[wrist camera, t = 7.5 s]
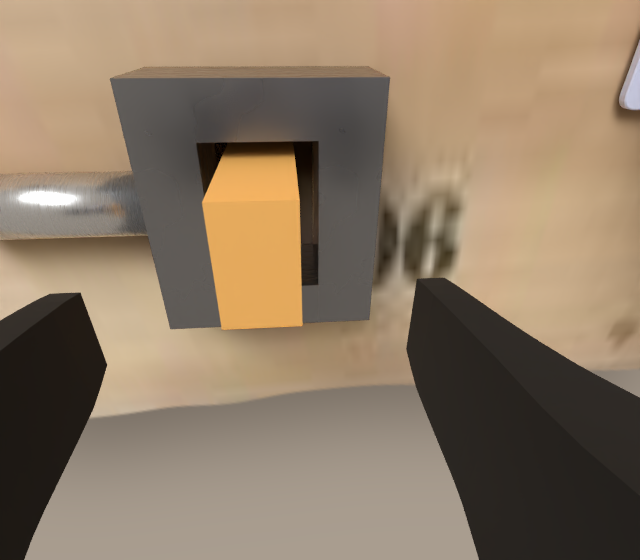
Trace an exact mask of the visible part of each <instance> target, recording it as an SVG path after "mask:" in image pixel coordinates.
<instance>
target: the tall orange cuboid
mask: <svg viewBox="0 0 640 560" xmlns="http://www.w3.org/2000/svg"><path fill="white" fill-rule="evenodd" d="M202 206H203V212H204V219H205V225H206V231H207V238H208V244H209V251H210V257H211V263H212V270H213V276H214V283H215V289H216V295H217V302H218V308H219V314H220V321H221V327H222V330H229V329H250V328H271V327H292V326H302V283H301V239H300V199H299V190H298V181H297V172H296V163H295V154H294V144H293V141H284V142H228V144H227V146H226V148H225V151H224V153H223V155H222V158H221V160H220V162H219V164H218V167H217V169H216V171H215V174H214V176H213V178H212V181H211V183H210V185H209V188H208V190H207V192H206V194H205V197H204V199H203V201H202Z"/></svg>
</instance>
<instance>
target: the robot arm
mask: <svg viewBox="0 0 640 560" xmlns="http://www.w3.org/2000/svg"><path fill="white" fill-rule="evenodd" d="M619 104H620V106H621V107H622V108H625V109H630V110H640V41H639V44H638V46H637V49H636V52H635V55H634V57H633V60H632V63H631V66H630V69H629V71H628V74H627V77H626V80H625V82H624V85H623V88H622V91H621V93H620V97H619ZM406 349H407V354H408V358H409V362H410V366H411V370H412V373H413V377H414V381H415V384H416V388H417V390H418V393H419V396H420V398H421V401H422V403H423V406H424V408H425V411H426V413H427V416H428V418H429V421H430V423H431V426H432V428H433V431H434V433H435V436H436V438H437V440H438V443H439V445H440V448H441V450H442V453H443V455H444V457H445V460H446V462H447V465H448V467H449V470H450V472H451V474H452V477H453V480H454V482H455V485H456V488H457V490H458V493H459V496H460V499H461V501H462V504H463V507H464V511H465V514H466V517H467V520H468V524H469V527H470V531H471V534H472V537H473V540H474V544H475V547H476V551H477V554H478V557H479V560H640V398H639V397H637V396H635V395H633V394H632V393H630V392H628V391H626V390H624V389H622V388H620V387H618V386H616V385H614V384H612V383H611V382H609V381H607V380H605V379H603V378H601V377H599V376H597V375H595V374H593V373H592V372H590V371H588V370H586V369H585V368H583V367H581V366H579V365H577V364H576V363H574V362H572V361H571V360H569V359H567V358H566V357H564V356H562V355H561V354H559V353H557V352H556V351H554V350H552V349H551V348H549V347H548V346H546V345H544V344H543V343H541V342H539V341H538V340H536V339H535V338H533V337H532V336H530V335H528V334H527V333H525V332H524V331H522V330H521V329H519V328H518V327H516V326H515V325H513V324H512V323H510V322H509V321H507V320H506V319H504V318H503V317H501V316H500V315H499V314H497V313H496V312H494V311H493V310H491V309H490V308H488V307H487V306H486V305H484V304H483V303H481V302H480V301H478V300H477V299H476V298H474V297H473V296H471V295H470V294H468V293H467V292H465V291H464V290H463V289H461V288H460V287H458V286H457V285H455V284H454V283H452V282H450V281H449V280H447V279H445V278H425V279H417V282H416V289H415V296H414V302H413V309H412V315H411V322H410V329H409V335H408V342H407V348H406ZM106 367H107V363H106V361H105V358H104V355H103V352H102V350H101V347H100V344H99V342H98V339H97V336H96V334H95V331H94V328H93V325H92V323H91V320H90V317H89V315H88V312H87V309H86V307H85V304H84V301H83V298H82V296H81V293H59V294H49V295H47V296H45V297H42V298H40V299H38V300H36V301H34V302H32V303H31V304H29V305H27V306H25V307H23V308H21V309H20V310H18V311H16V312H14V313H13V314H11V315H9V316H7V317H6V318H4V319H2V320H1V321H0V560H24V559H25V555H26V553H27V550H28V548H29V545H30V542H31V540H32V537H33V535H34V532H35V530H36V528H37V526H38V524H39V521H40V519H41V517H42V514H43V512H44V510H45V508H46V506H47V504H48V502H49V500H50V498H51V496H52V494H53V492H54V490H55V487H56V485H57V483H58V481H59V479H60V477H61V475H62V473H63V471H64V469H65V467H66V465H67V463H68V461H69V459H70V456H71V455H72V453H73V451H74V448H75V446H76V444H77V442H78V440H79V438H80V436H81V434H82V432H83V430H84V428H85V425H86V423H87V421H88V419H89V417H90V415H91V412H92V410H93V408H94V405H95V402H96V399H97V396H98V393H99V391H100V387H101V384H102V381H103V377H104V374H105V371H106Z"/></svg>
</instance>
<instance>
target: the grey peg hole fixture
mask: <svg viewBox="0 0 640 560" xmlns="http://www.w3.org/2000/svg"><path fill="white" fill-rule="evenodd" d="M110 81H111V85H112V89H113V93H114V97H115V102H116V106H117V110H118V114H119V118H120V122H121V126H122V131H123V135H124V139H125V143H126V147H127V151H128V155H129V160H130V164H131V168H132V171H120V172H69V173H18V174H0V240H17V239H49V238H82V237H115V236H148V238H149V243H150V247H151V251H152V255H153V259H154V263H155V267H156V272H157V276H158V280H159V284H160V288H161V292H162V296H163V301H164V305H165V309H166V313H167V317H168V321H169V325H170V329H185V328H206V327H221V321H220V314H219V308H218V302H217V295H216V289H215V283H214V276H213V270H212V263H211V257H210V251H209V244H208V238H207V231H206V225H205V219H204V212H203V206H202V201H203V199H204V197H205V194H206V192H207V190H208V188H209V185H210V183H211V181H212V178H213V176H214V174H215V171H216V169H217V167H218V163H217V155H216V148H215V143H217V142H284V141H312V244H301V283H302V323H314V322H335V321H356V320H369V316H370V304H371V292H372V281H373V269H374V257H375V246H376V234H377V222H378V211H379V199H380V187H381V176H382V164H383V153H384V141H385V129H386V118H387V106H388V94H389V83H390V77H388V76H386V75H384V74H382V73H380V72H378V71H376V70H374V69H372V68H370V67H143V68H140V69H137V70H134V71H131V72H128V73H125V74H122V75H119V76H116V77H113V78H110Z"/></svg>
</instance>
